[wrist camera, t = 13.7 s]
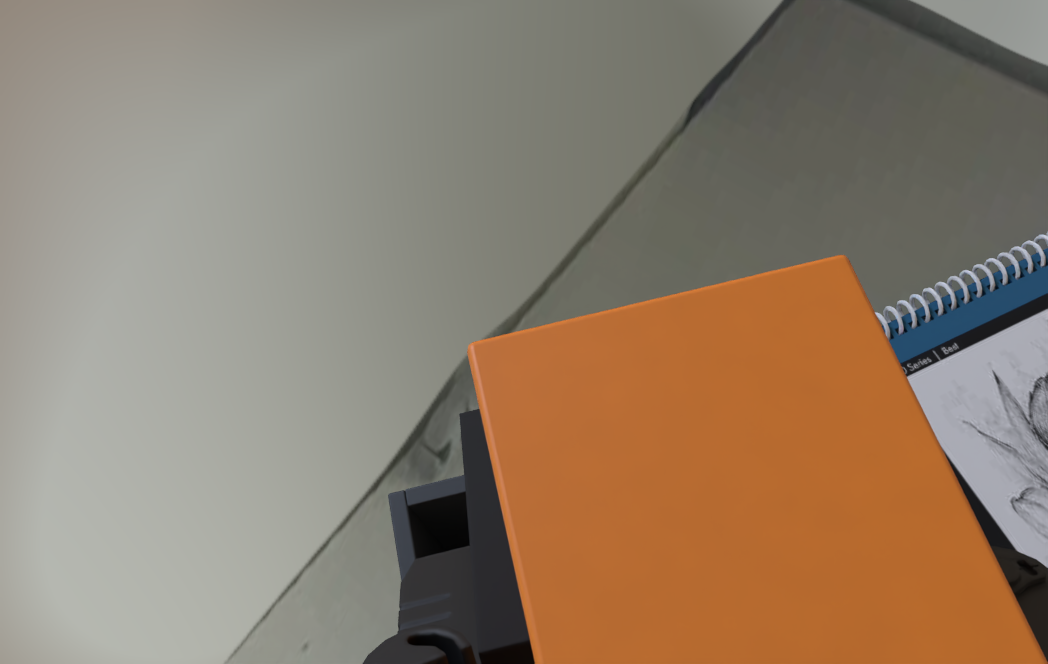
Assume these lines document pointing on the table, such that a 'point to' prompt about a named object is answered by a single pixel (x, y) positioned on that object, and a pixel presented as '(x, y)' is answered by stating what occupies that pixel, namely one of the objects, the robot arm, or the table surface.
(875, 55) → the table surface
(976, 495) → the sketchbook
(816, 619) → the block
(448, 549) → the bin
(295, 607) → the table surface
